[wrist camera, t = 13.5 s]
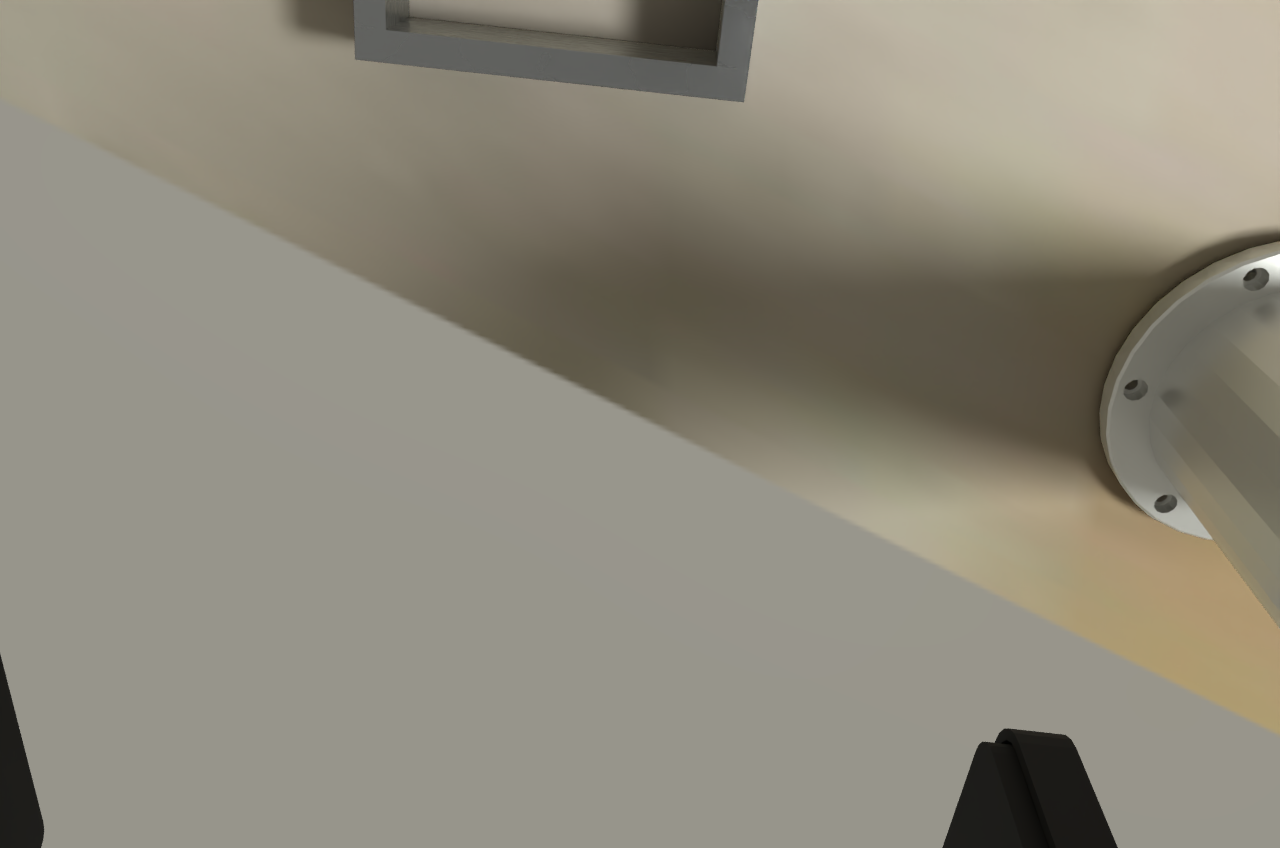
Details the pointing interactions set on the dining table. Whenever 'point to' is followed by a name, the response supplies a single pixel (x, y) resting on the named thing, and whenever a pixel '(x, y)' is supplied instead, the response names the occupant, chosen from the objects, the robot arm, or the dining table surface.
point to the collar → (561, 52)
